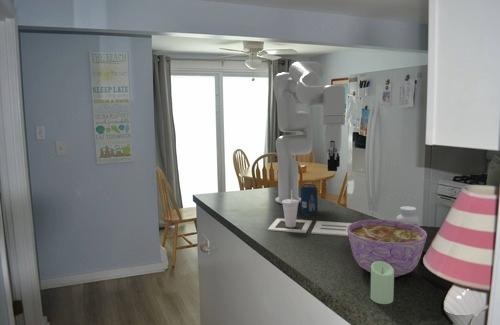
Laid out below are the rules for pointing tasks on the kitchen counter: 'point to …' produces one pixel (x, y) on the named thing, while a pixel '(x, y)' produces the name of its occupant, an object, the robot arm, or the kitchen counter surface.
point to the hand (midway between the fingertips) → (333, 168)
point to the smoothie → (290, 211)
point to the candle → (382, 282)
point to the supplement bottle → (408, 215)
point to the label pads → (315, 227)
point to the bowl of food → (387, 244)
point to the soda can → (309, 199)
